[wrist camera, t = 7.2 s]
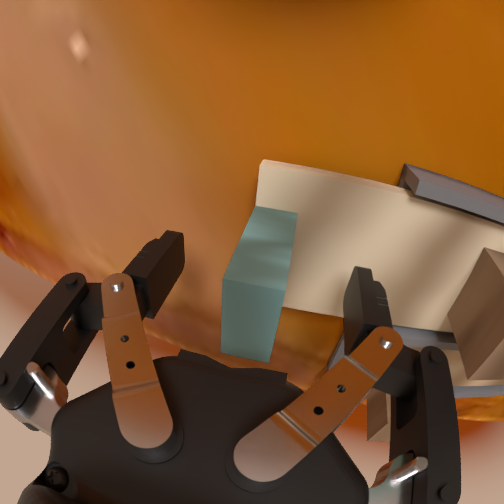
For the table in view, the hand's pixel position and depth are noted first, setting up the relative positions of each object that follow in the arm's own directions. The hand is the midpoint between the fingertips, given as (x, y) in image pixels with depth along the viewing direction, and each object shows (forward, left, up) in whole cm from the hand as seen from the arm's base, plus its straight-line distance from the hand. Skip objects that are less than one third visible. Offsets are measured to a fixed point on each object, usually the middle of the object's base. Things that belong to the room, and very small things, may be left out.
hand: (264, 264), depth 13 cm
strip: (-9, 0, -4) cm, 10 cm away
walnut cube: (-14, 0, -2) cm, 14 cm away
